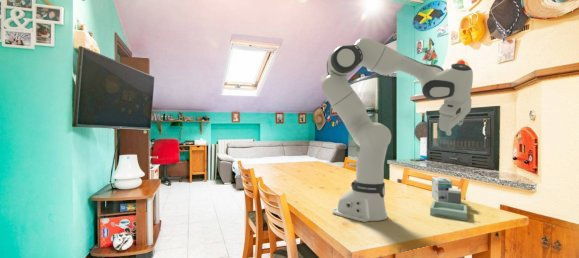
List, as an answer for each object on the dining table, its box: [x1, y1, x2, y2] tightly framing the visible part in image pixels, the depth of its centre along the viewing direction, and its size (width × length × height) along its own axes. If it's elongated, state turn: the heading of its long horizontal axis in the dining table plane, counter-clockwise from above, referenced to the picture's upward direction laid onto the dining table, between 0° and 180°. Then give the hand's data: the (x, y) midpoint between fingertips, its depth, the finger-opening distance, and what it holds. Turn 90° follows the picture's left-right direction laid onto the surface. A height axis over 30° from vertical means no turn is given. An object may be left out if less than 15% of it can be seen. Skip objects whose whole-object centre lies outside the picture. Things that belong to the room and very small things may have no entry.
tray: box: [429, 200, 468, 222], centre depth 118 cm, size 13×13×3 cm
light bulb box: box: [431, 176, 453, 203], centre depth 140 cm, size 11×7×11 cm, turn 168°
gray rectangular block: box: [447, 187, 462, 205], centre depth 128 cm, size 5×5×8 cm
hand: (454, 129), depth 121 cm, fingers open, 8 cm apart
